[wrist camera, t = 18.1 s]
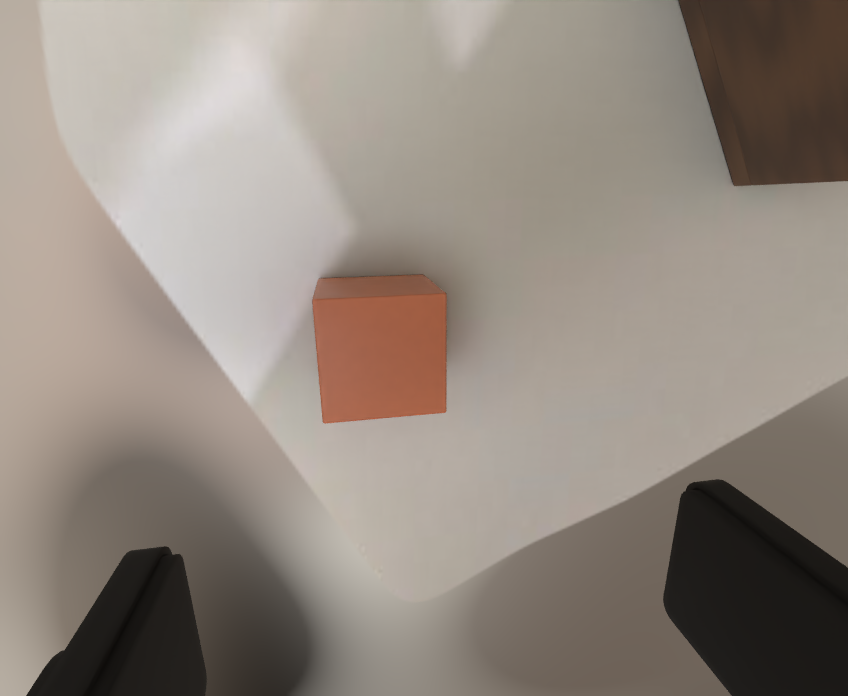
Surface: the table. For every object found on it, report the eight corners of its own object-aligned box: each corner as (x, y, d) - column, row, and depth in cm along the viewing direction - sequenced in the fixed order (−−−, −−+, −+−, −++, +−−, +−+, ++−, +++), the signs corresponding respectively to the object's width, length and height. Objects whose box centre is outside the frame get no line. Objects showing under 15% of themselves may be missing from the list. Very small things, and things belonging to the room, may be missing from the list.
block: (326, 378, 25) (322, 424, 20) (317, 278, 23) (312, 299, 18) (425, 371, 26) (446, 413, 21) (424, 274, 24) (446, 293, 19)
